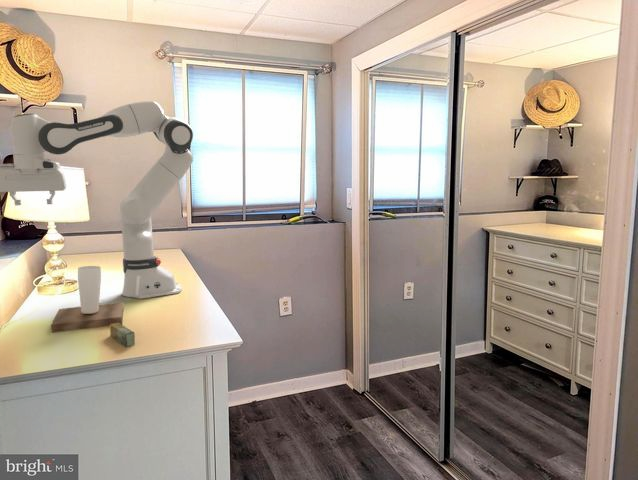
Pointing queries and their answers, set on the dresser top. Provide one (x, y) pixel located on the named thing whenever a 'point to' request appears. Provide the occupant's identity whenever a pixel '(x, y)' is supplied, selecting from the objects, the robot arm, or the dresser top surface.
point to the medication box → (122, 334)
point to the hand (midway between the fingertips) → (34, 204)
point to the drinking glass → (89, 288)
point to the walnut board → (87, 317)
